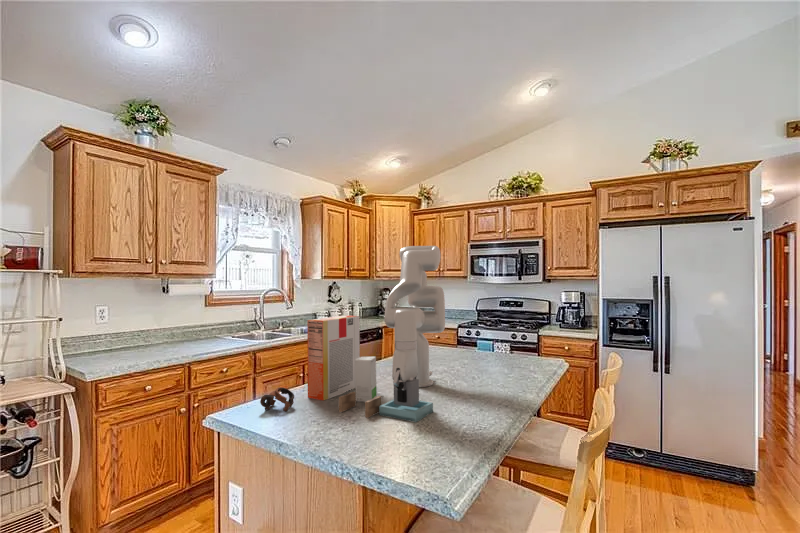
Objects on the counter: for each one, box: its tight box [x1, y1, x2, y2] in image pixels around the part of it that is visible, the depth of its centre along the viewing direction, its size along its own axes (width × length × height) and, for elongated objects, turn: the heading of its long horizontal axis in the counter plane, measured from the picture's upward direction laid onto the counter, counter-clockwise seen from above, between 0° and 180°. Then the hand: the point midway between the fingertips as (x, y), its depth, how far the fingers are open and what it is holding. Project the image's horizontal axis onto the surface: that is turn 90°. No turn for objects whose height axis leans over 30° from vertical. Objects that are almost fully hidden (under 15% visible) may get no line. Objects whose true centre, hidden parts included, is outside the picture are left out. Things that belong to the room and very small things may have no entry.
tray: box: [379, 398, 434, 423], centre depth 137 cm, size 12×14×3 cm
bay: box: [338, 391, 383, 419], centre depth 140 cm, size 8×12×5 cm, turn 59°
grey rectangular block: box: [393, 377, 420, 407], centre depth 137 cm, size 5×7×9 cm
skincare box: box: [355, 356, 378, 403], centre depth 155 cm, size 8×7×16 cm
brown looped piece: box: [259, 387, 295, 412], centre depth 143 cm, size 12×10×8 cm
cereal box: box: [307, 314, 361, 401], centre depth 165 cm, size 23×8×30 cm, turn 149°
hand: (406, 399), depth 137 cm, fingers closed on grey rectangular block, 5 cm apart
